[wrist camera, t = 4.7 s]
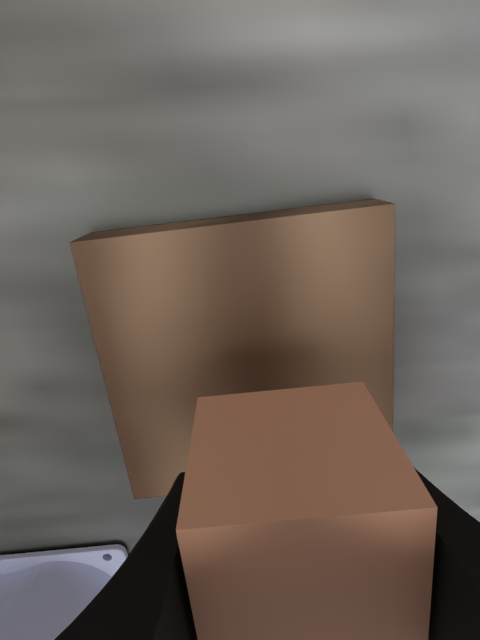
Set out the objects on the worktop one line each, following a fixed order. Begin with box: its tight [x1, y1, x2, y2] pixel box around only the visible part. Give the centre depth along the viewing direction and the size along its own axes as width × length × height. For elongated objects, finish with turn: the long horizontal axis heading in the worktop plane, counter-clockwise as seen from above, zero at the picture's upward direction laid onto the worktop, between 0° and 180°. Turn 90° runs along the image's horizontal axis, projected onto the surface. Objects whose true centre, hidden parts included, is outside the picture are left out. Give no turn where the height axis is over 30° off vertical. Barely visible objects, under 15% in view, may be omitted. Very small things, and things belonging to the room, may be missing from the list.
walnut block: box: [70, 199, 395, 499], centre depth 19 cm, size 12×12×3 cm
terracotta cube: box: [176, 382, 438, 640], centre depth 11 cm, size 5×5×5 cm
